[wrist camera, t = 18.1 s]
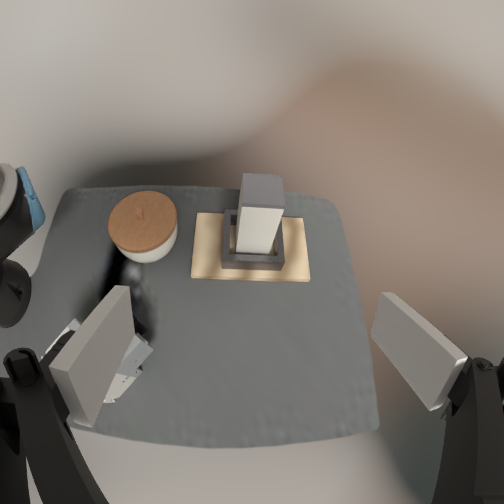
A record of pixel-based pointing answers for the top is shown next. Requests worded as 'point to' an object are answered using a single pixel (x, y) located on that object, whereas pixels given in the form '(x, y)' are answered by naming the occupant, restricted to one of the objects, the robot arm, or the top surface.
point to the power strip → (258, 213)
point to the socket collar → (251, 260)
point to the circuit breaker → (129, 364)
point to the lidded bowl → (144, 226)
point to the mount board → (211, 250)
